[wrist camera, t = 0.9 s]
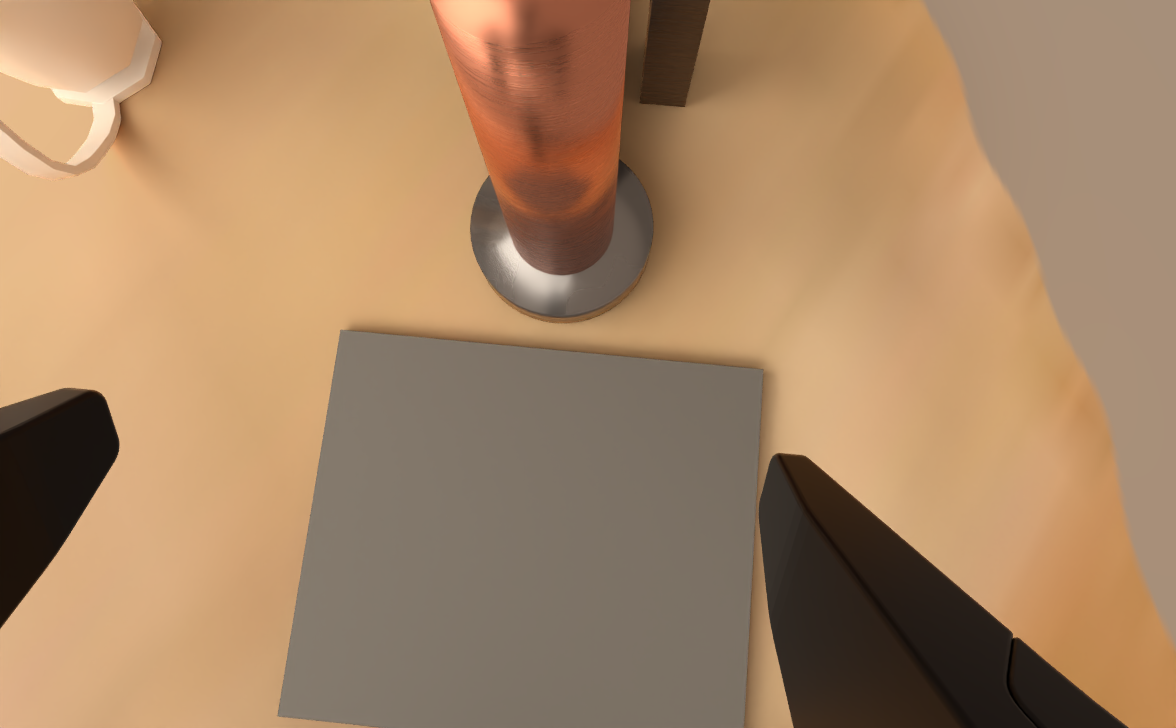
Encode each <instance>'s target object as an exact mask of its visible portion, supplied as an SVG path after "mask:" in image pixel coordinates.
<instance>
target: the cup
mask: <svg viewBox="0 0 1176 728" xmlns="http://www.w3.org/2000/svg"><path fill="white" fill-rule="evenodd" d="M161 45H162V41H161V40H160V38H159V37H158V35H157V34H156V33H155V31H154V30H153V28H152V27H151V25H150V24H149V22H148V21H147V20H146V18H145V17H144V15H143V14H142V12H141V11H140V9H139V8H138V7H137V6H136V5H135V4H134V2H133V0H0V72H1V73H4V74H6V75H9V76H11V77H14V78H17V79H19V80H22V81H24V82H27V83H30V84H32V85H35V86H39V87H47V88H51V89H52V91H53V92H54V94H55V95H56V97H57V98H58V99H60V100H61V101H63V102H64V103H68V104H75V105H82V106H90V107H92V108H93V115H94V121H93V124H92V127H91V130H90V132H89V135H88V138H87V140H86V141H85V142H84V143H83V145H82V146H81V147H80V149H79V150H78V151H77V152H76V153H75V155H74V156H73V157H72V158H71V159H70V160H69V161H68V162H67V163H66V164H65V163H61V162H57V161H53V160H51V159H49V158H48V157H46V156H45V155H44V154H42V153H41V152H39V151H38V150H36V149H35V148H34V147H32V146H31V145H29V144H28V143H26V142H25V141H24V140H22V139H21V138H20V137H19V136H18V135H17V134H16V133H14V132H13V131H12V130H11V129H10V128H9V127H7V126H6V125H5V124H4V123H3V122H2V121H1V120H0V158H2V159H4V160H5V161H7V162H8V163H10V164H12V165H13V166H15V167H16V168H18V169H19V170H21V171H23V172H24V173H26V174H27V175H31V176H35V177H39V178H44V179H48V180H52V181H56V180H60V179H65V178H69V177H73V176H78V175H80V174H82V173H85V172H87V171H89V170H91V169H93V168H95V167H96V166H97V165H98V163H99V162H100V161H101V160H102V159H103V157H104V156H105V155H106V153H107V152H108V150H109V149H110V147H111V146H112V144H113V143H114V141H115V139H116V136H117V133H118V129H119V126H120V123H121V114H120V105H119V103H121V102H122V101H124V100H125V99H127V98H128V97H130V96H132V95H133V94H135V93H136V92H138V91H140V90H141V89H143V88H144V87H146V86H148V85H149V84H150V83H151V80H152V76H153V73H154V69H155V66H156V62H157V59H158V55H159V52H160V48H161Z"/></svg>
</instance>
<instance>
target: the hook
mask: <svg viewBox="0 0 1176 728" xmlns="http://www.w3.org/2000/svg"><path fill="white" fill-rule="evenodd" d="M630 1H631V0H430V3H431V5H432V8H433V11H434V14H435V17H436V20H437V23H438V26H439V29H440V32H441V35H442V38H443V41H444V43H445V46H446V49H447V52H448V55H449V58H450V61H451V64H452V67H453V70H454V73H455V76H456V78H457V81H458V84H459V87H460V90H461V93H462V96H463V99H464V102H465V105H466V108H467V111H468V114H469V116H470V119H471V122H472V125H473V128H474V131H475V134H476V137H477V140H478V143H479V146H480V149H481V151H482V154H483V157H484V160H485V163H486V166H487V169H488V172H489V176H488V178H487V179H486V181H485V182H484V183H483V185H482V187H481V189H480V191H479V193H478V195H477V197H476V200H475V203H474V206H473V210H472V215H471V225H470V232H471V242H472V247H473V251H474V254H475V257H476V260H477V262H478V264H479V266H480V268H481V270H482V272H483V274H484V275H485V277H486V279H487V281H488V283H489V284H490V286H491V287H492V289H493V290H494V291H495V293H496V294H497V295H498V296H499V297H500V298H501V299H502V300H503V301H504V302H506V303H507V304H508V305H509V306H511V307H512V308H514V309H515V310H517V311H519V312H520V313H522V314H524V315H527V316H529V317H531V318H534V319H538V320H541V321H546V322H552V323H572V322H580V321H584V320H588V319H591V318H594V317H597V316H599V315H601V314H603V313H605V312H607V311H609V310H611V309H612V308H613V307H615V306H616V305H618V304H619V303H620V302H621V301H622V300H623V299H625V298H626V297H627V296H628V295H629V293H630V292H631V291H632V290H633V289H634V287H635V286H636V284H637V283H638V281H639V280H640V278H641V276H642V274H643V271H644V269H645V267H646V263H647V260H648V257H649V253H650V248H651V244H652V237H653V216H652V210H651V206H650V202H649V199H648V197H647V194H646V192H645V189H644V188H643V186H642V184H641V183H640V181H639V179H638V178H637V177H636V175H635V174H634V173H633V172H632V170H631V169H630V168H629V167H627V166H626V165H625V164H624V163H623V162H622V161H621V160H619V148H620V135H621V122H622V108H623V95H624V82H625V68H626V55H627V41H628V28H629V15H630Z"/></svg>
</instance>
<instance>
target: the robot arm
mask: <svg viewBox="0 0 1176 728" xmlns="http://www.w3.org/2000/svg"><path fill="white" fill-rule="evenodd" d="M118 452H119V438H118V435H117V432H116V429H115V426H114V423H113V420H112V416H111V413H110V410H109V407H108V404H107V401H106V399H105V397H104V396H103V395H102V394H101V393H100V392H97V391H95V390H87V389H76V388H63V389H59V390H56V391H53V392H50V393H46V394H43V395H40V396H37V397H34V398H31V399H27V400H24V401H21V402H18V403H15V404H12V405H8V406H5V407H2V408H0V629H1V627H2V626H3V625H4V623H5V622H6V621H7V619H8V618H9V617H10V615H11V614H12V613H13V612H14V610H15V609H16V608H17V606H18V605H19V604H20V602H21V601H22V600H23V598H24V597H25V596H26V594H27V593H28V592H29V591H30V589H31V588H32V587H33V585H34V584H35V583H36V581H37V580H38V579H39V577H40V576H41V575H42V574H43V572H44V571H45V570H46V568H47V567H48V565H49V564H50V563H51V561H52V560H53V559H54V557H55V556H56V554H57V553H58V551H59V550H60V548H61V547H62V545H63V544H64V542H65V541H66V539H67V538H68V536H69V534H70V533H71V531H72V530H73V528H74V526H75V525H76V523H77V521H78V520H79V518H80V517H81V515H82V513H83V512H84V510H85V509H86V507H87V505H88V504H89V502H90V500H91V499H92V497H93V496H94V494H95V492H96V491H97V489H98V487H99V486H100V484H101V483H102V481H103V479H104V478H105V476H106V475H107V473H108V471H109V470H110V468H111V466H112V465H113V463H114V462H115V460H116V458H117V455H118ZM759 524H760V534H761V543H762V553H763V563H764V572H765V582H766V592H767V601H768V610H769V618H770V623H771V629H772V634H773V639H774V643H775V647H776V652H777V656H778V661H779V665H780V669H781V674H782V678H783V683H784V687H785V691H786V696H787V700H788V705H789V709H790V713H791V718H792V722H793V727H794V728H1128V727H1127V726H1126V725H1124V724H1123V723H1122V722H1121V721H1119V720H1118V719H1117V718H1115V717H1114V716H1113V715H1112V714H1110V713H1109V712H1108V711H1106V710H1105V709H1104V708H1103V707H1101V706H1100V705H1099V704H1097V703H1096V702H1095V701H1094V700H1092V699H1091V698H1090V697H1089V696H1088V695H1086V694H1085V693H1084V692H1083V691H1082V690H1080V689H1079V688H1078V687H1077V686H1075V685H1074V684H1073V683H1072V682H1071V681H1069V680H1068V679H1067V678H1066V677H1065V676H1063V675H1062V674H1061V673H1060V672H1058V671H1057V670H1056V669H1055V668H1054V667H1052V666H1051V665H1050V664H1049V663H1048V662H1046V661H1045V660H1044V659H1043V658H1042V657H1041V656H1039V655H1038V654H1037V653H1036V652H1035V651H1034V650H1032V649H1031V648H1030V647H1029V646H1028V645H1027V644H1025V643H1024V642H1023V641H1022V640H1021V639H1019V638H1013V634H1012V632H1011V631H1010V630H1009V629H1008V628H1006V627H1005V626H1004V625H1003V624H1002V623H1001V622H999V621H998V620H997V619H996V618H995V617H994V616H992V615H991V614H990V613H989V612H988V611H986V610H985V609H984V608H983V607H982V606H981V605H979V604H978V603H977V602H976V601H975V600H974V599H972V598H971V597H970V596H969V595H968V594H967V593H965V592H964V591H963V590H962V589H961V588H960V587H958V586H957V585H956V584H955V583H954V582H953V581H951V580H950V579H949V578H948V577H947V576H946V575H944V574H943V573H942V572H941V571H940V570H939V569H937V568H936V567H935V566H934V565H933V564H932V563H930V562H929V561H928V560H927V559H926V558H925V557H923V556H922V555H921V554H920V553H919V552H918V551H916V550H915V549H914V548H913V547H912V546H911V545H909V544H908V543H907V542H906V541H905V540H903V539H902V538H901V537H900V536H899V535H898V534H896V533H895V532H894V531H893V530H892V529H891V528H889V527H888V526H887V525H886V524H885V523H884V522H882V521H881V520H880V519H879V518H878V517H877V516H875V515H874V514H873V513H872V512H871V511H870V510H868V509H867V508H866V507H865V506H864V505H863V504H861V503H860V502H859V501H858V500H857V499H856V498H854V497H853V496H852V495H851V494H850V493H849V492H847V491H846V490H845V489H844V488H843V487H842V486H840V485H839V484H838V483H837V482H836V481H835V480H833V479H832V478H831V477H830V476H829V475H828V474H826V473H825V472H824V471H823V470H822V469H821V468H819V467H818V466H817V465H816V464H815V463H813V462H812V461H811V460H810V459H809V458H807V457H806V456H803V455H795V454H784V453H777V454H775V455H774V456H773V457H772V459H771V461H770V464H769V468H768V472H767V475H766V479H765V483H764V487H763V491H762V494H761V498H760V503H759Z"/></svg>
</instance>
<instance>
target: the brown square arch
mask: <svg viewBox="0 0 1176 728" xmlns="http://www.w3.org/2000/svg"><path fill="white" fill-rule="evenodd" d="M709 3H710V0H650V7H649V16H648V24H647V33H646V42H645V52H644V63H643V74H642V85H641V96H640V103H645V104H657V105H669V106H681V107H685V103H686V99H687V95H688V91H689V86H690V82H691V78H692V74H693V70H694V66H695V62H696V57H697V53H698V49H699V45H700V41H701V37H702V32H703V28H704V24H705V20H706V16H707V12H708V8H709Z"/></svg>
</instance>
